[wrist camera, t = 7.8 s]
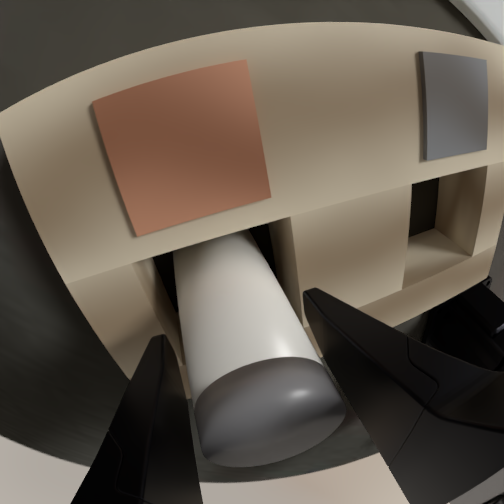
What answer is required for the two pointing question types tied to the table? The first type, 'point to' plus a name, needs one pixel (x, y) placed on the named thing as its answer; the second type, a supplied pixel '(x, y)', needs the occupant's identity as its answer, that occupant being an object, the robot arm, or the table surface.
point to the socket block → (267, 168)
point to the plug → (249, 357)
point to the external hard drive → (484, 17)
